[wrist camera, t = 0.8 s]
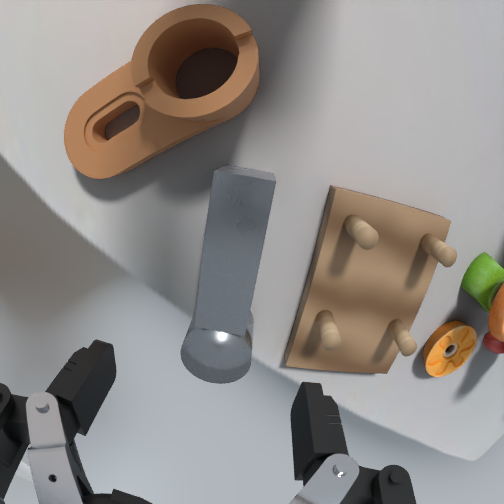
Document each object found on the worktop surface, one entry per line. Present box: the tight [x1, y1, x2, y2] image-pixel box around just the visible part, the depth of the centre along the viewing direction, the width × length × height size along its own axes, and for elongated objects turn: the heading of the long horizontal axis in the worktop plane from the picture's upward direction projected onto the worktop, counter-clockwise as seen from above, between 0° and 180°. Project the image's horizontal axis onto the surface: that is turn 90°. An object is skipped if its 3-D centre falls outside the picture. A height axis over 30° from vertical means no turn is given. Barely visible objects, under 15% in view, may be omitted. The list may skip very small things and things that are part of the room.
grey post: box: [181, 165, 276, 384], centre depth 24 cm, size 18×6×6 cm, turn 170°
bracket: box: [64, 4, 260, 179], centre depth 19 cm, size 18×8×7 cm, turn 113°
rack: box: [285, 185, 457, 374], centre depth 25 cm, size 18×12×6 cm, turn 170°
